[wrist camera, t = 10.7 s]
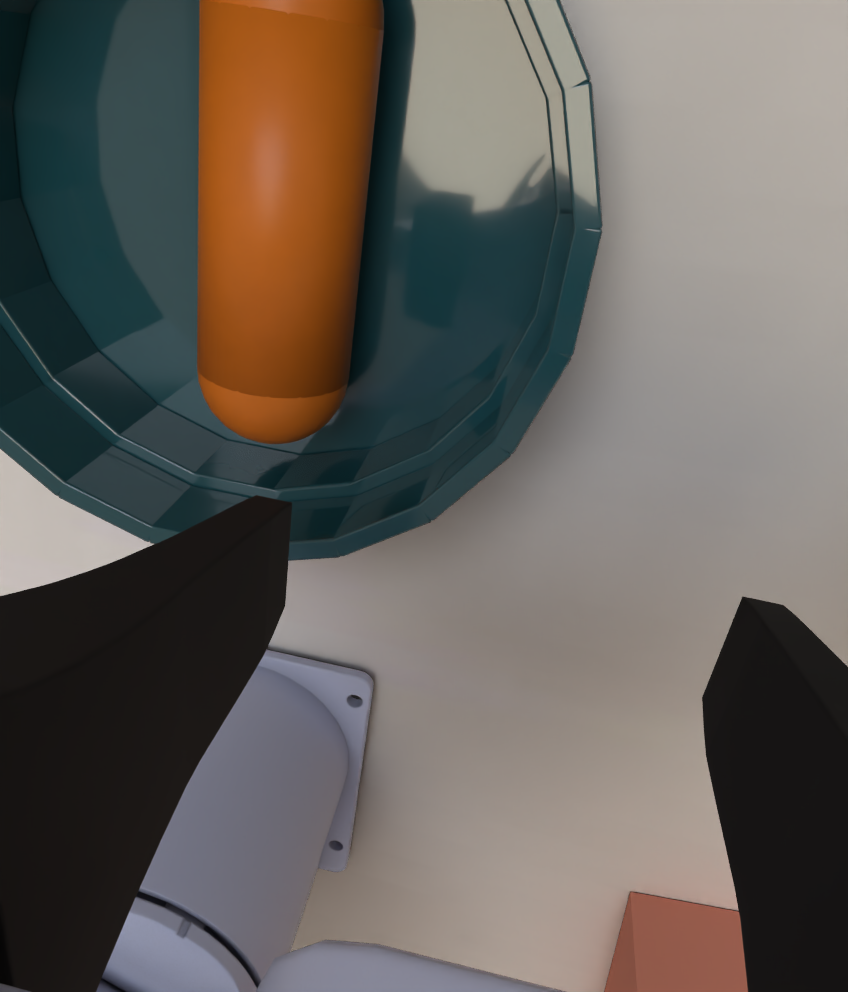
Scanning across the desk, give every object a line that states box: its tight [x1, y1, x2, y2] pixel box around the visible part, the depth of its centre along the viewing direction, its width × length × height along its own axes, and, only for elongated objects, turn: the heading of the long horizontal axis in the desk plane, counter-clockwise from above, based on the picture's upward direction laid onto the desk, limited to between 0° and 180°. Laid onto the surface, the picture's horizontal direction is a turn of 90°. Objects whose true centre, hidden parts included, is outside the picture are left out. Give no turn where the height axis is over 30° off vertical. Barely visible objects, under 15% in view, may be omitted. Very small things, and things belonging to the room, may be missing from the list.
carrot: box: [197, 0, 384, 444], centre depth 18 cm, size 11×4×4 cm, turn 172°
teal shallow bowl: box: [0, 0, 602, 561], centre depth 18 cm, size 15×15×5 cm
